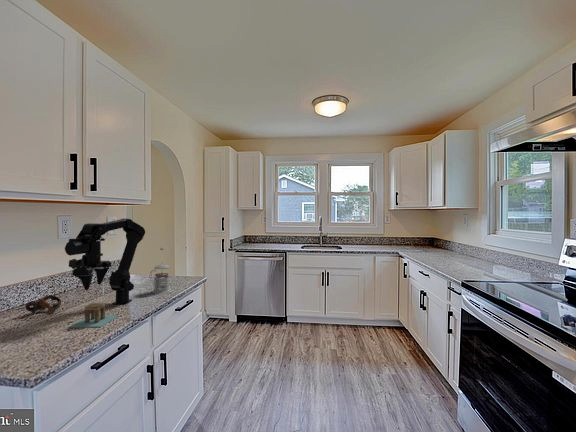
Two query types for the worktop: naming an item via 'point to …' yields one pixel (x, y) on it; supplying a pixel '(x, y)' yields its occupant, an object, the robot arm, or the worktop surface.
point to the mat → (92, 322)
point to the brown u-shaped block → (95, 312)
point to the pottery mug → (43, 304)
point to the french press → (160, 279)
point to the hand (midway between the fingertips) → (93, 287)
